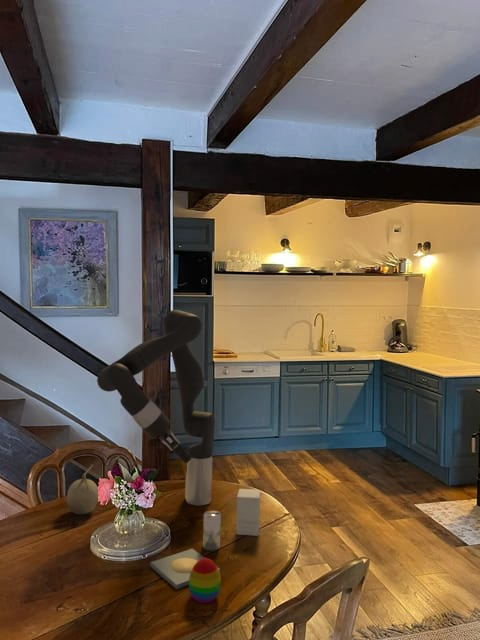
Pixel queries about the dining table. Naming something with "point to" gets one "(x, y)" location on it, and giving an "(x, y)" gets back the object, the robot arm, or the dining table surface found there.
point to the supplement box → (248, 512)
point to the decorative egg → (204, 581)
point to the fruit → (82, 495)
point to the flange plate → (177, 567)
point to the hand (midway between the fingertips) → (185, 457)
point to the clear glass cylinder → (211, 530)
